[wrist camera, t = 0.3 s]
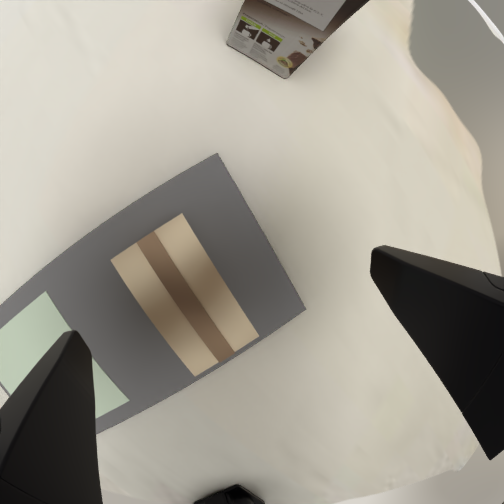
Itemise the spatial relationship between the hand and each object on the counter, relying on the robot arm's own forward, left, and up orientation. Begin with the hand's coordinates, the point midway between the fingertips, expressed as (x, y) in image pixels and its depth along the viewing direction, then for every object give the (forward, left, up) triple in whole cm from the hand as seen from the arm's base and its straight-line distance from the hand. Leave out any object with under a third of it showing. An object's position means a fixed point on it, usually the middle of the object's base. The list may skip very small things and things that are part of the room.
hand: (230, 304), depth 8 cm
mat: (-2, +9, -14) cm, 17 cm away
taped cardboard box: (-2, +2, -13) cm, 14 cm away
